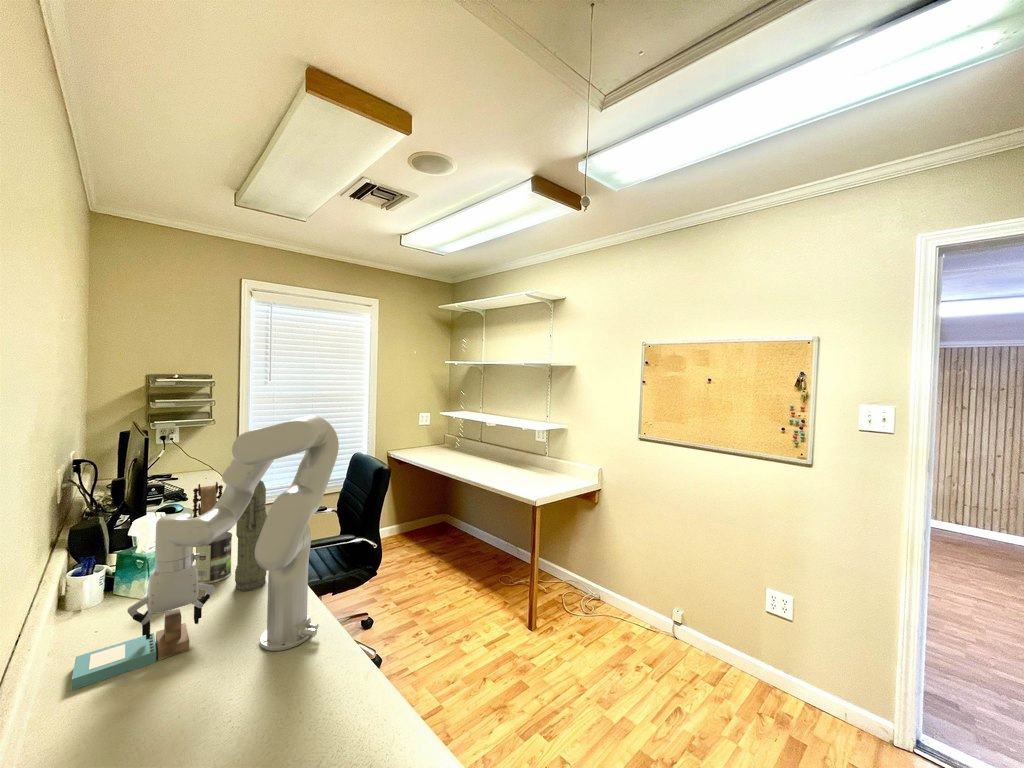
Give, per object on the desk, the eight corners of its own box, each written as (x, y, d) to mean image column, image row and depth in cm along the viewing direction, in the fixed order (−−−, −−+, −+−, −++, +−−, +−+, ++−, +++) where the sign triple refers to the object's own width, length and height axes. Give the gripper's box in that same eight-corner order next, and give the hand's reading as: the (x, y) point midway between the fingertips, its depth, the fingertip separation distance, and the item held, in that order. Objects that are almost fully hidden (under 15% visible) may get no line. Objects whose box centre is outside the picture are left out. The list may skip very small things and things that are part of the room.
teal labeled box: (153, 642, 106) (154, 631, 106) (155, 661, 99) (156, 650, 99) (75, 667, 96) (75, 655, 96) (71, 690, 89) (71, 678, 89)
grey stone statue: (264, 574, 144) (266, 476, 144) (267, 588, 135) (270, 483, 135) (234, 581, 139) (236, 479, 139) (235, 596, 129) (238, 487, 130)
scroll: (189, 532, 182) (190, 488, 182) (186, 523, 193) (187, 482, 193) (228, 525, 192) (229, 483, 192) (224, 517, 203) (224, 477, 203)
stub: (185, 631, 110) (185, 602, 111) (189, 649, 103) (189, 618, 103) (155, 641, 106) (156, 610, 106) (158, 660, 99) (158, 627, 99)
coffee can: (234, 568, 148) (235, 530, 149) (226, 581, 139) (227, 540, 139) (200, 572, 145) (201, 533, 145) (189, 586, 135) (190, 544, 135)
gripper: (213, 549, 114) (211, 610, 114) (128, 568, 102) (126, 636, 102) (217, 558, 108) (216, 622, 108) (128, 578, 96) (126, 650, 96)
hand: (172, 629), depth 105 cm, fingers open, 9 cm apart
